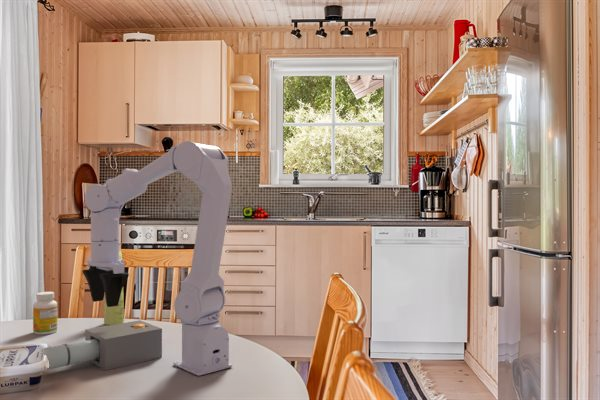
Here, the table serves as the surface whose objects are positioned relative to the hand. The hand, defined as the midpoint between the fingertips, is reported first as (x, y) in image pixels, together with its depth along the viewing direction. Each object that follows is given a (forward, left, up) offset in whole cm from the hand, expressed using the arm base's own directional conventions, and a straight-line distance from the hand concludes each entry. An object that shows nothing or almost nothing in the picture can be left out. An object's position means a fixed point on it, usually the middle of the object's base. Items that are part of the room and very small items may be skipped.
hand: (105, 303), depth 113 cm
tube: (+23, -12, -11) cm, 28 cm away
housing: (-7, -1, -10) cm, 13 cm away
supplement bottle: (+26, +4, -11) cm, 28 cm away
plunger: (-7, -4, -7) cm, 11 cm away
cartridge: (-7, +8, -9) cm, 14 cm away
